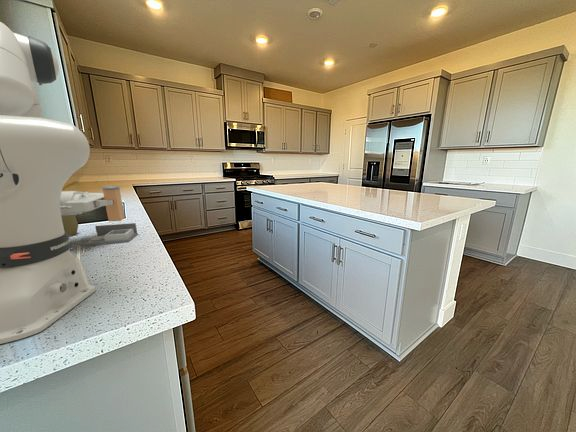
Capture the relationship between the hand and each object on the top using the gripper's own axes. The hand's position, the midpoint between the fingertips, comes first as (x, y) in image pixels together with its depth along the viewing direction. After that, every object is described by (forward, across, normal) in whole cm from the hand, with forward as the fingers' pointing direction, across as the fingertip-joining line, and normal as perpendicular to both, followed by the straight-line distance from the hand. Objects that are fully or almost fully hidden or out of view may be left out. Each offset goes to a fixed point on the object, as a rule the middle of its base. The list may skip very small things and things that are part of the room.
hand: (116, 201), depth 91 cm
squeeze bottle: (-25, +13, +16) cm, 32 cm away
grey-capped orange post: (-1, 0, +7) cm, 7 cm away
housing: (-3, 0, +15) cm, 16 cm away
